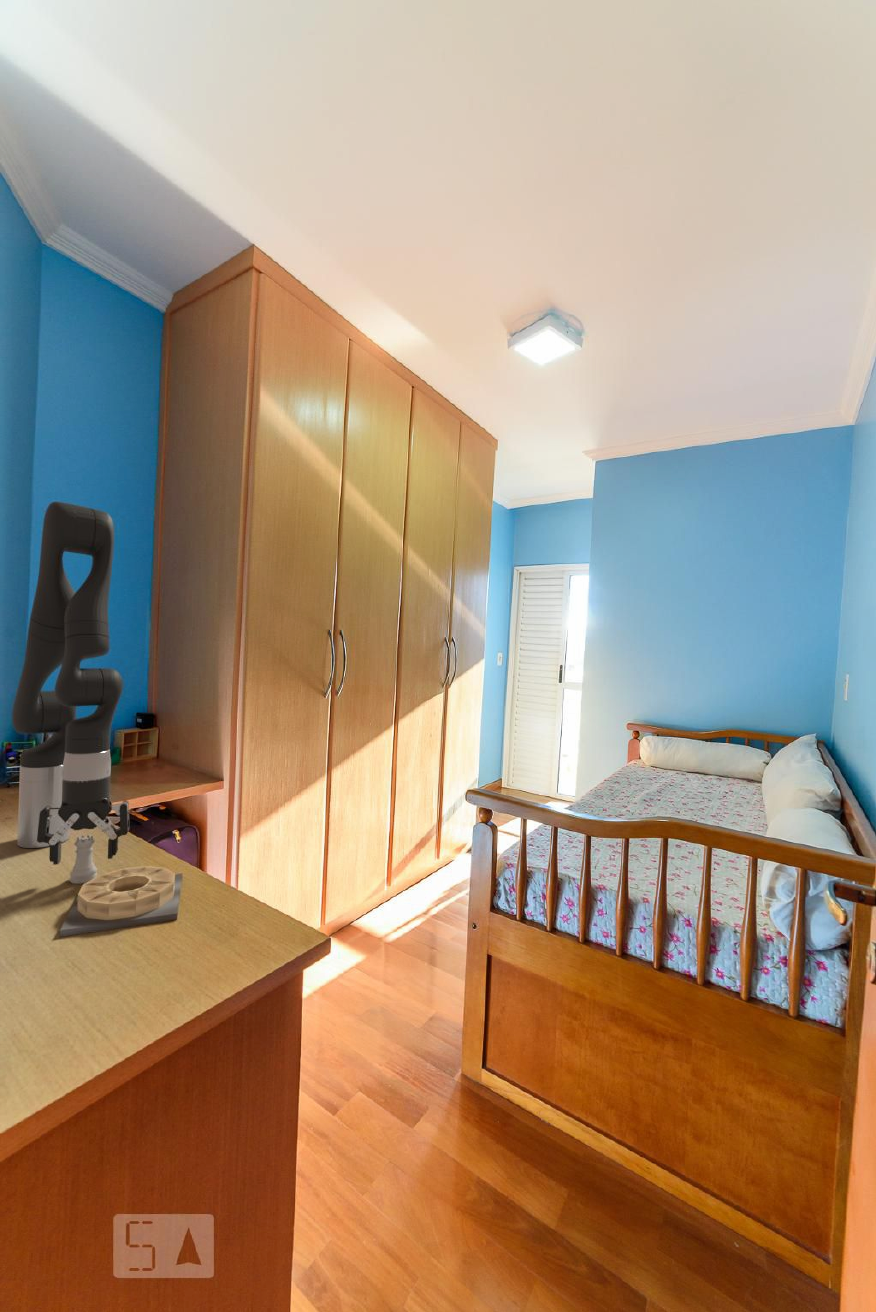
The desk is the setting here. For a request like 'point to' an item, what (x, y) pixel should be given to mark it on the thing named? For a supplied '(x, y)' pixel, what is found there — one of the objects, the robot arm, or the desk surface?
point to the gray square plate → (125, 900)
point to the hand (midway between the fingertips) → (84, 860)
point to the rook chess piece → (83, 861)
